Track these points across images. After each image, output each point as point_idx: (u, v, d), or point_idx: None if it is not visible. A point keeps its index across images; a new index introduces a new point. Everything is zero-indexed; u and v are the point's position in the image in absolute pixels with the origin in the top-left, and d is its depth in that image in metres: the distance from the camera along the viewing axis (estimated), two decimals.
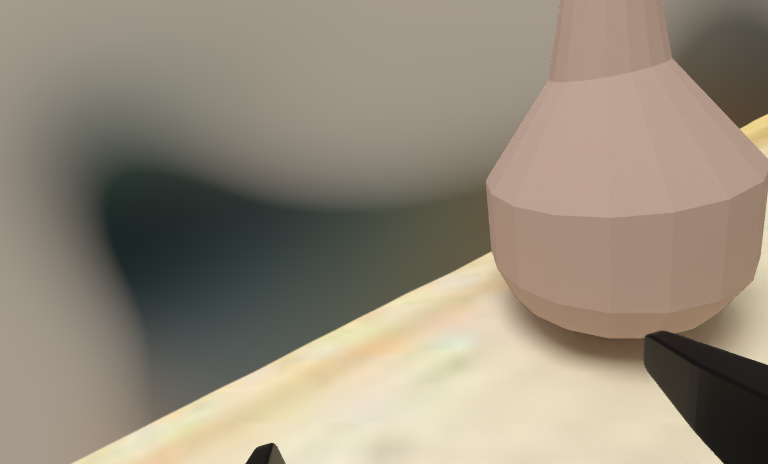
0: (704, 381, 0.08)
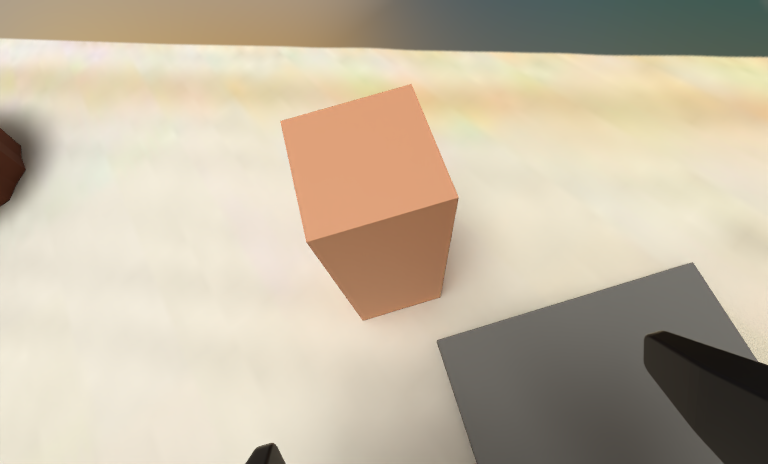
0: (704, 381, 0.08)
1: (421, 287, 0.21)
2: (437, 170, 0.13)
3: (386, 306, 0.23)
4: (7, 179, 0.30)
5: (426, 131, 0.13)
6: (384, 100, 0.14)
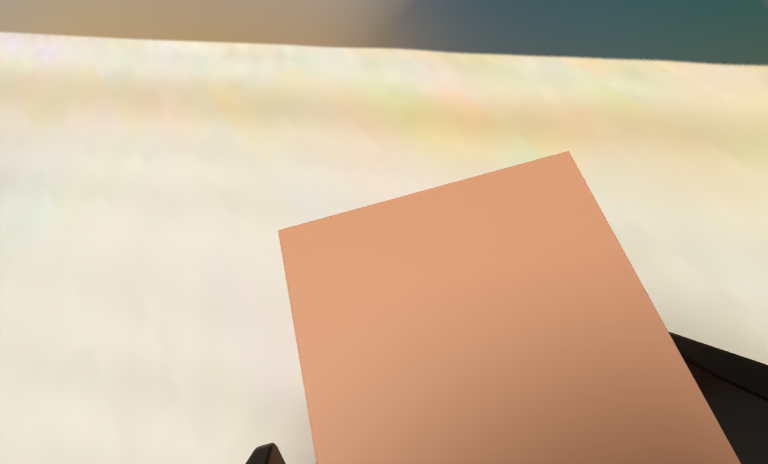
0: (704, 381, 0.08)
1: None
2: (678, 397, 0.05)
3: None
4: None
5: (626, 276, 0.06)
6: (513, 188, 0.06)
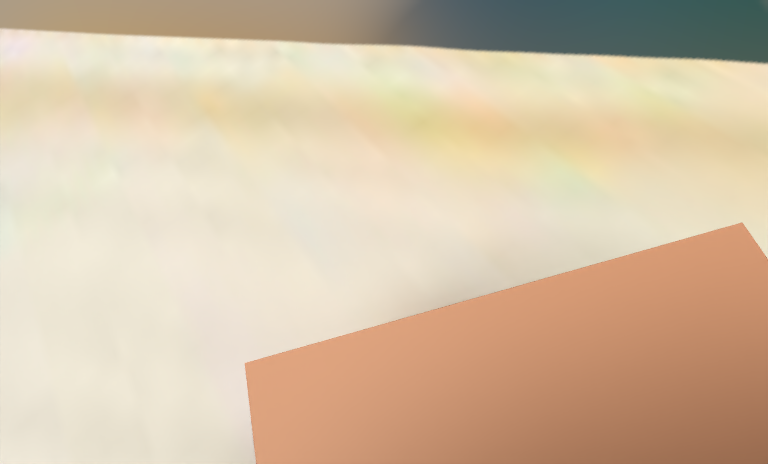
0: None
1: None
2: None
3: None
4: None
5: None
6: (653, 290, 0.04)
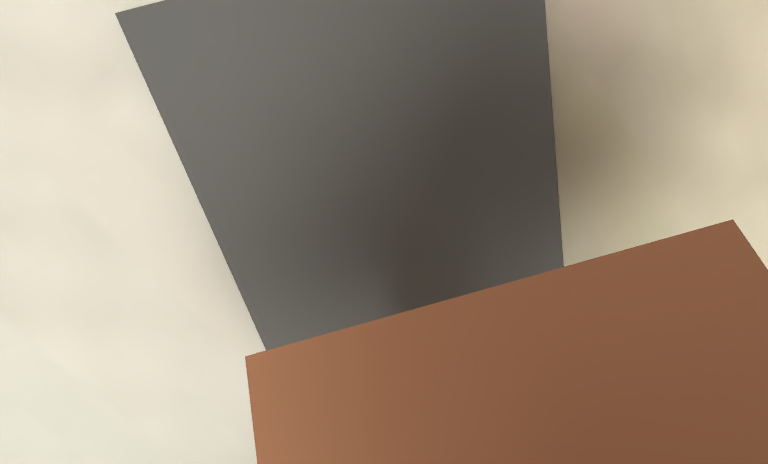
0: None
1: None
2: None
3: None
4: None
5: None
6: (644, 286, 0.04)
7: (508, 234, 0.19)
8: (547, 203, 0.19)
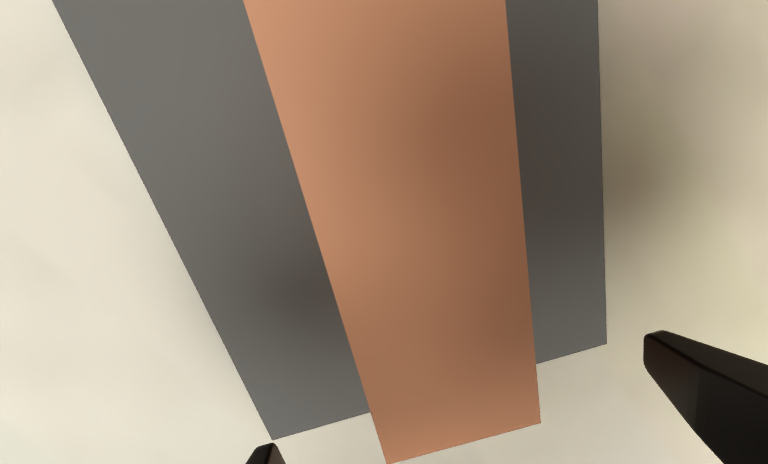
0: (704, 381, 0.08)
1: (491, 341, 0.11)
2: None
3: (429, 409, 0.11)
4: None
5: None
6: None
7: (542, 264, 0.16)
8: (589, 227, 0.16)
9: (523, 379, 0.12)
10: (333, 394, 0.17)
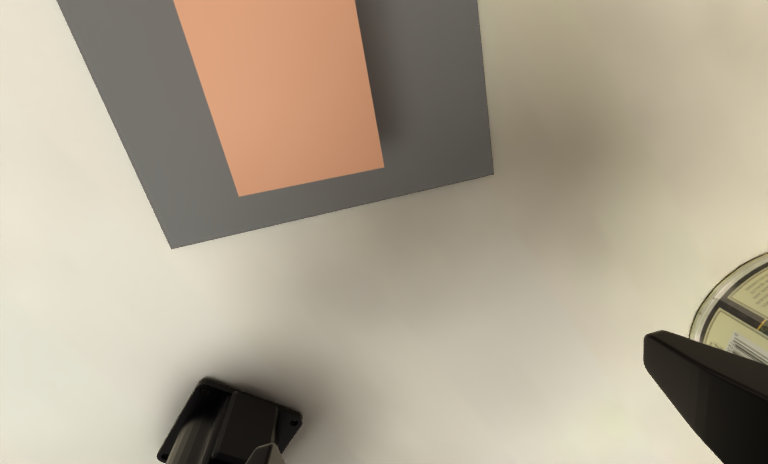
0: (704, 381, 0.08)
1: (324, 60, 0.12)
2: None
3: (273, 134, 0.12)
4: None
5: None
6: None
7: (424, 76, 0.17)
8: (467, 39, 0.17)
9: (361, 111, 0.13)
10: (228, 203, 0.18)
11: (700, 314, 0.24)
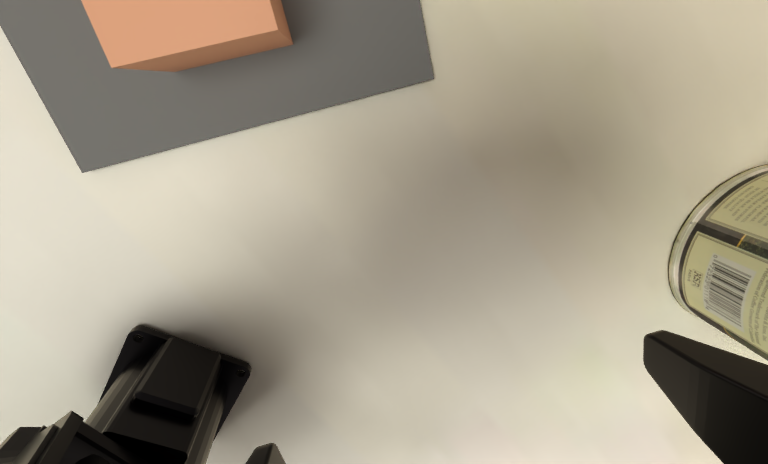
0: (704, 381, 0.08)
1: None
2: None
3: None
4: None
5: None
6: None
7: None
8: None
9: None
10: (140, 117, 0.16)
11: (678, 241, 0.23)
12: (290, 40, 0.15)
